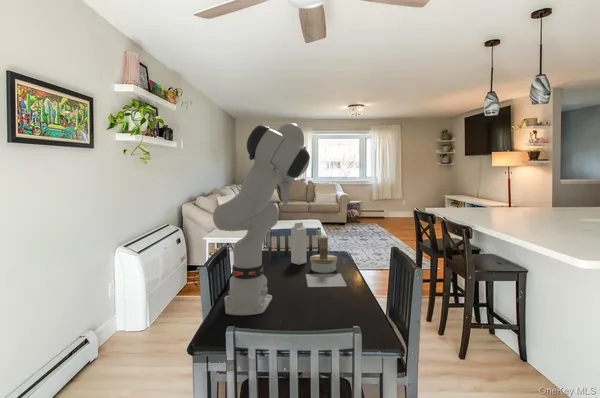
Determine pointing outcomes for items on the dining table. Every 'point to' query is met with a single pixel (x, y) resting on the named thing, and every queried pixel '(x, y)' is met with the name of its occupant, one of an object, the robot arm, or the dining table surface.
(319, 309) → the dining table surface
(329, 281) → the mat
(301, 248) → the milk
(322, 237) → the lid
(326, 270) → the bowl
